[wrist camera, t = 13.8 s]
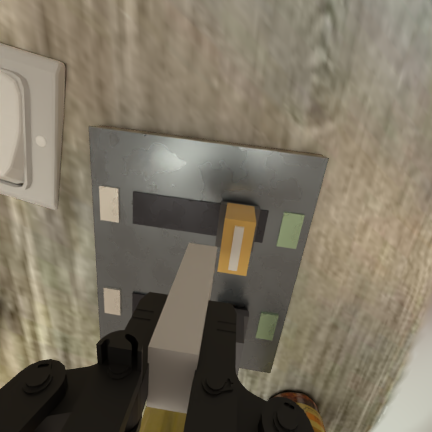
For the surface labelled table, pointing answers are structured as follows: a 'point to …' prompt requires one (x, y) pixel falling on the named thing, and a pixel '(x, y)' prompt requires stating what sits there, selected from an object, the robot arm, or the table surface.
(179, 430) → the vase
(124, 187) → the breaker panel
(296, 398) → the sauce bottle
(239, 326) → the lever
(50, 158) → the light switch
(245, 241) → the lever
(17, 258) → the table surface
